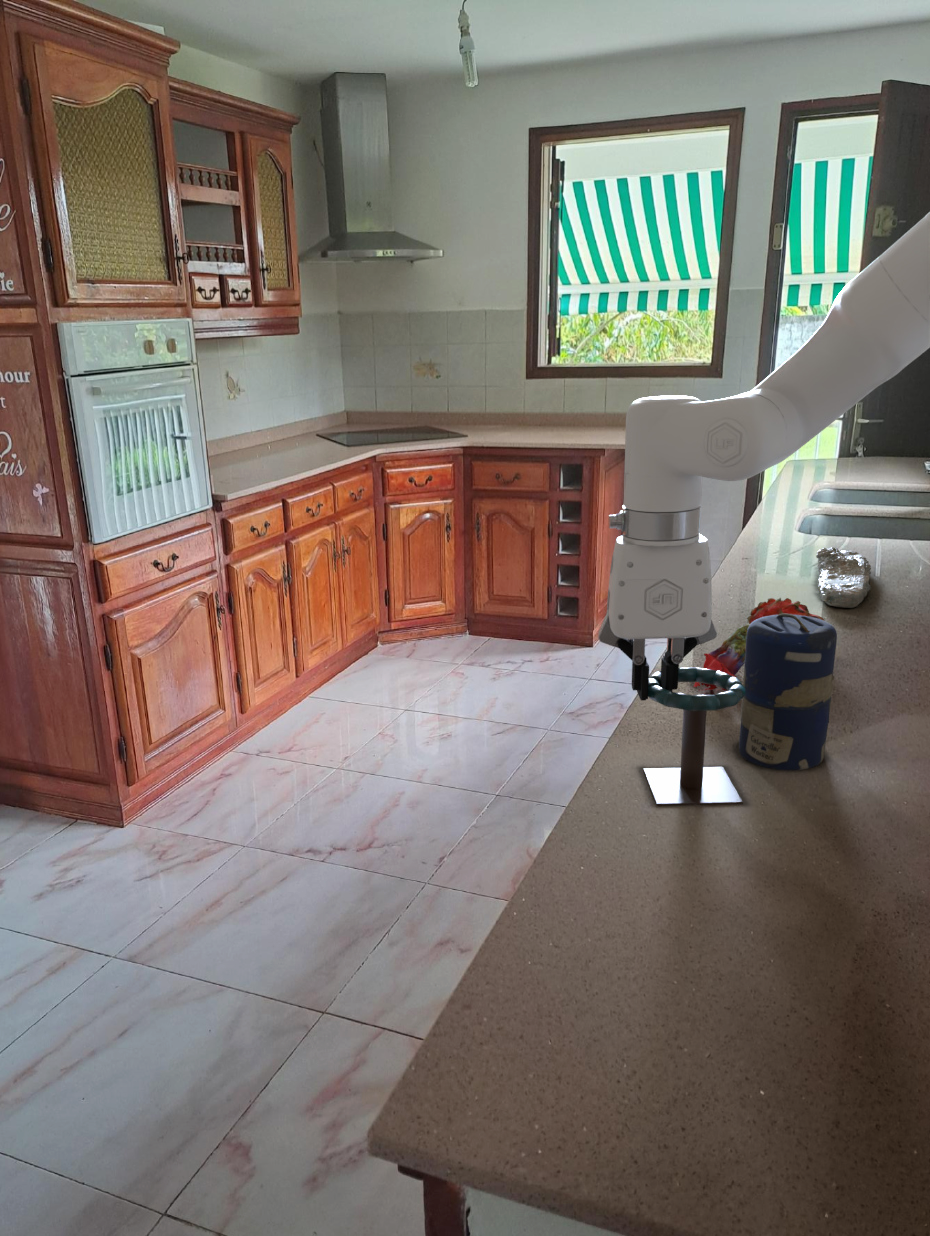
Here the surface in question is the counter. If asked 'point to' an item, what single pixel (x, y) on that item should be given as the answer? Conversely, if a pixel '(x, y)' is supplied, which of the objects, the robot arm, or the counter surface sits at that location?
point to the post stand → (692, 772)
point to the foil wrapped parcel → (842, 577)
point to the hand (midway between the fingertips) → (654, 694)
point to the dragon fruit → (779, 609)
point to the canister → (787, 691)
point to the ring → (698, 701)
